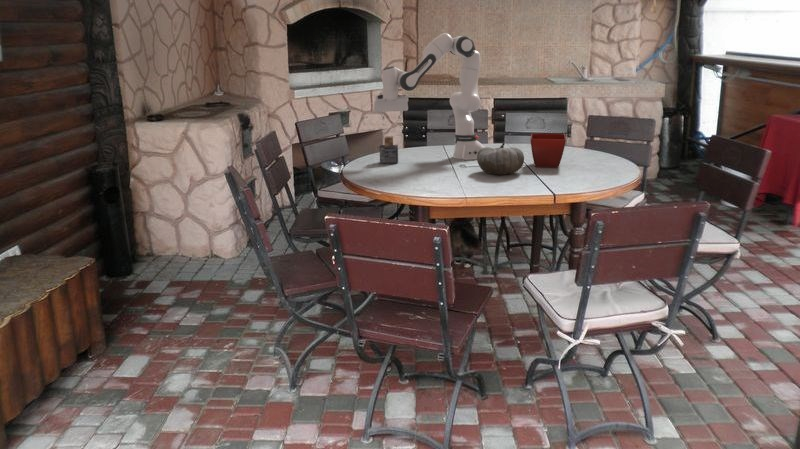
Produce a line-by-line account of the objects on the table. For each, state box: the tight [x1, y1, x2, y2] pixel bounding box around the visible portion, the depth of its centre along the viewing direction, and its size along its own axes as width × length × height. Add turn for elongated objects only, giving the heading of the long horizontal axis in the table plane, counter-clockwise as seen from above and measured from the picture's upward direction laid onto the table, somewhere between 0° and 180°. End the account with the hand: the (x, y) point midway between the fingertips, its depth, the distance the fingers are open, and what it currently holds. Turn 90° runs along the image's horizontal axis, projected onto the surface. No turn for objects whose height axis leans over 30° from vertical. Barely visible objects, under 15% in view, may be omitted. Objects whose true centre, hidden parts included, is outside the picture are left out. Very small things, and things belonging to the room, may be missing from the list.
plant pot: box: [530, 132, 567, 169], centre depth 393 cm, size 19×19×17 cm
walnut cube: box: [383, 135, 394, 146], centre depth 407 cm, size 5×5×5 cm
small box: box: [378, 144, 399, 165], centre depth 410 cm, size 11×6×10 cm, turn 84°
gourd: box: [476, 142, 525, 176], centre depth 376 cm, size 25×25×17 cm
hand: (391, 119), depth 406 cm, fingers open, 8 cm apart
